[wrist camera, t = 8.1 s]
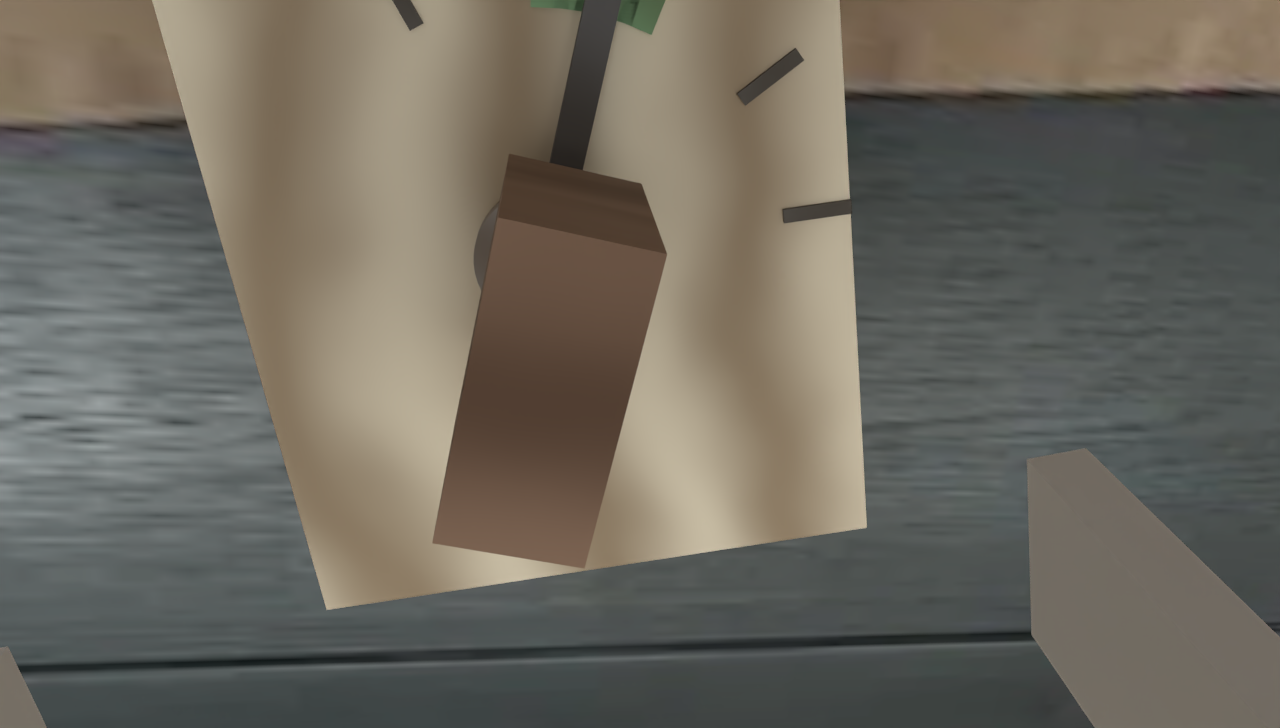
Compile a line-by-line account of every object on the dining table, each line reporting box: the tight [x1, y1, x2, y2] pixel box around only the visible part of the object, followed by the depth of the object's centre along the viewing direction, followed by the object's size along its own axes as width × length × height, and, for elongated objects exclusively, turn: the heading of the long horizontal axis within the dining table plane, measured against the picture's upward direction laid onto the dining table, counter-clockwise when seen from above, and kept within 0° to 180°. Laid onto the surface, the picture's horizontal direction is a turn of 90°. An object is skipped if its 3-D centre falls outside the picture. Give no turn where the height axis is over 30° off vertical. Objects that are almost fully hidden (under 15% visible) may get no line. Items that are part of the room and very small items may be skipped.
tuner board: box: [152, 0, 867, 610], centre depth 32 cm, size 18×22×2 cm
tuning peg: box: [432, 0, 667, 569], centre depth 25 cm, size 12×4×10 cm, turn 166°
